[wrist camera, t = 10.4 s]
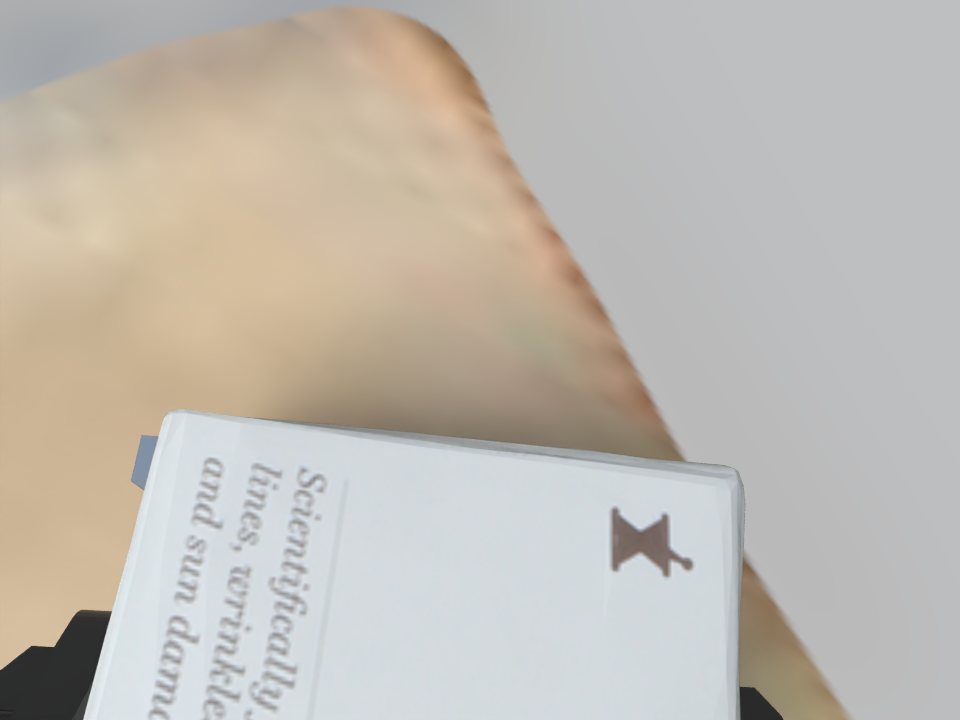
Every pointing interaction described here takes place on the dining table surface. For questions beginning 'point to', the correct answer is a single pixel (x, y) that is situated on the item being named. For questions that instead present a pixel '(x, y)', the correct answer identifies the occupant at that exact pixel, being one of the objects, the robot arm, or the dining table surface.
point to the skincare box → (421, 580)
